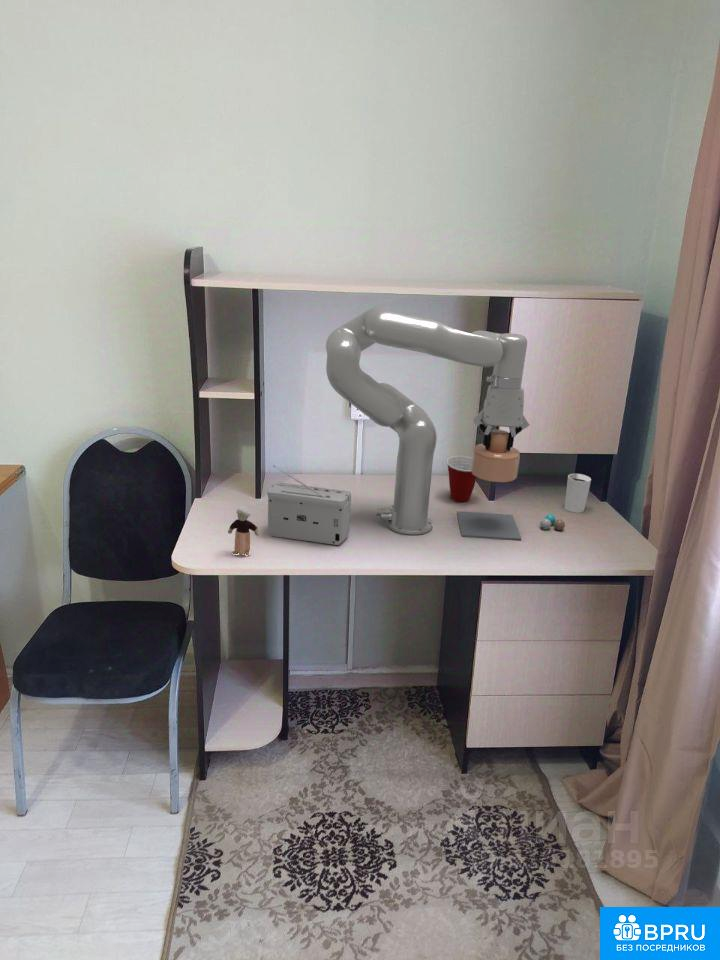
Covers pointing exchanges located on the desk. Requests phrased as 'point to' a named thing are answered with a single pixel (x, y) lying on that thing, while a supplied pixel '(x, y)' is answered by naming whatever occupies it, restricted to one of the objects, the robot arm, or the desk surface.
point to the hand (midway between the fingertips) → (497, 448)
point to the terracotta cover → (496, 459)
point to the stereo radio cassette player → (308, 512)
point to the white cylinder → (577, 492)
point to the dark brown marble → (559, 524)
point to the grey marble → (545, 523)
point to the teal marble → (551, 518)
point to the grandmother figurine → (242, 531)
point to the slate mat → (488, 525)
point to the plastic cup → (460, 478)
